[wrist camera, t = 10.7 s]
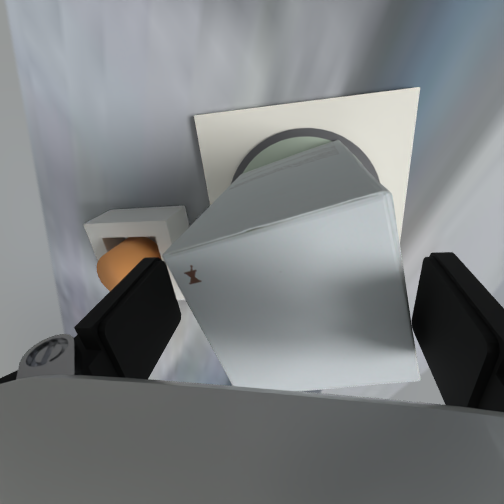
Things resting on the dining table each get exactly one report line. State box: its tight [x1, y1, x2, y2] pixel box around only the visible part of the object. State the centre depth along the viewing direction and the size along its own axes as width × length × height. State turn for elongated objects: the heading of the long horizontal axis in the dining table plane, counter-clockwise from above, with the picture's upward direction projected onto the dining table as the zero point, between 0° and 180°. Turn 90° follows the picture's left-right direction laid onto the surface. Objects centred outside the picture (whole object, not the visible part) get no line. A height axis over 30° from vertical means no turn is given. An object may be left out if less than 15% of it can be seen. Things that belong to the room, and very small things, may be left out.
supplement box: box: [162, 140, 421, 391], centre depth 15 cm, size 7×7×13 cm
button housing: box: [83, 206, 190, 300], centre depth 24 cm, size 7×7×4 cm
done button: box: [97, 237, 162, 291], centre depth 22 cm, size 4×4×3 cm
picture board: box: [194, 87, 420, 243], centre depth 21 cm, size 14×14×1 cm
